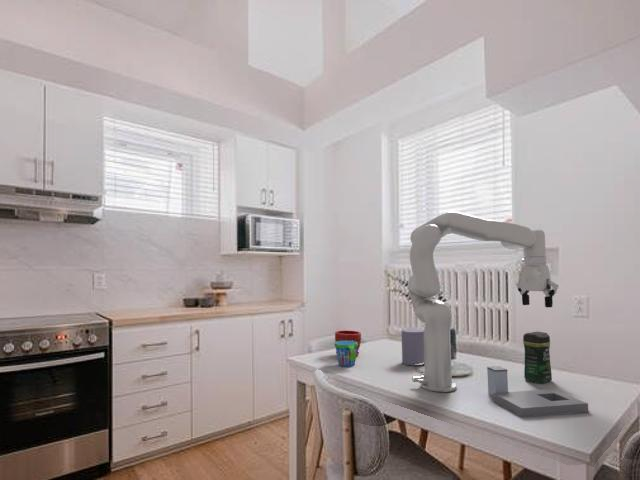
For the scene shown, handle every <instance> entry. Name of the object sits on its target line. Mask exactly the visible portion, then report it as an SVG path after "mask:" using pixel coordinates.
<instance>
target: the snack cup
mask: <svg viewBox="0 0 640 480" xmlns="http://www.w3.org/2000/svg"><path fill="white" fill-rule="evenodd" d="M357 346H358V343H357V342H355V341H353V340H352V341H347V340H346V341H338V342H334V347H335V353H336V352H337V354H336V358H337V364H338V366H340V367H346V368H347V367H354V366H355V365H356V360H357V356H356V351H357Z"/></svg>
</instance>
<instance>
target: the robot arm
mask: <svg viewBox="0 0 640 480" xmlns="http://www.w3.org/2000/svg"><path fill="white" fill-rule="evenodd" d="M452 234H453V235H457V236H460V237H461V236H462V237H464V238H468V239H473V240H475V241H480V242H482V241H483V242H500V244H501V245H502V246H503V247H504V248H506V249H508V250H517V249H518V250H519V249H523V258H522V260H521V262H522V263H523V265H521V269H520V270H521V271H520V281H518V282H516V283H515V286H516V288H517V290H518V292H519V294H520V295H521V301H522V302H521V303H522V306H529V305H530V295H529V293H530V292H543V294H544V295H545V296H544V307H545V308H553V305H554V304H553V297H555V294H556V293H557V291H558V289H559V284H557V283H555V282H554V281H551V280H552V279H551V273H550V268H549V265H547V255H546V254H547V253H546V235H545V234H546V233H545V231H544V230H542V229H531V228H530V227H527V226H523V225H520V224H517V223H516V224H515V223H512V222H508V221H500V220H493V219H486V218H483V217H478V216H474V215H471V214H468V213H463V212H460V211H456V210H455V211H454V210H451V211H448V212H445V213H441V214H440V215H438V216H436V217H435V218H432V219H431V220H429V221H427V222H425V223H423V224H422V225H419V226H418V227H416V228H414V229H413V231H412V232H411V233H410V236H409V238H410V243H411V247H410V250H409V262H410V263H409V264H410V267H411V270H412V271H411V272H412V274H411V276H410V277H409V278H408V281H407V290H408V295H409V297H410V301H411V304H412V305H411V306H412V307H413V312H414V314H415V317H416V318H417V319H418V320H419V321H421V322H422V323H425V324H424V329H423V330H424V372H422V373H421V375H420V376H416V375H415V376H412V377H411V381H412V382H413V383H418V384H420V387H422V389H425V390H427V391H430V392H431V391H432V392H439V393H449V392H454V391H456V390H457V387H458V386H457V384H456V383H455V382H453V378H452V377H453V376H452V373H453V371H452V351H451V350H452V349H451V327H452V322H453V321H452V320H453V318H452V317H453V316H452V310H451V308H450V306H448V305H447V304H446V303H445V302H444V301H442V300H439V299H436V298H435V297H436V296H438V295H439V294H440V292H441V286H442V285H441V282H440V278H439V276H438V275H439V274H438V272H437V269H436V266H435V261H434V251H435V249H436V247H437V246H438V245H439V243H440V242H441V240H442V238H444V237H445V236H447V235H452Z"/></svg>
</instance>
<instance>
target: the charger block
mask: <svg viewBox="0 0 640 480" xmlns="http://www.w3.org/2000/svg"><path fill="white" fill-rule="evenodd" d="M486 371H487V372H486V373H487V389H488V391H487V392H488V394H489V395H490V396H492V397H493V393H501V392H509V385H508V383H509V381H508V369H507V368H505V367H502V366H500V365H494V366H486Z"/></svg>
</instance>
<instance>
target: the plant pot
mask: <svg viewBox="0 0 640 480" xmlns="http://www.w3.org/2000/svg"><path fill="white" fill-rule="evenodd" d="M334 341H335V342H338V341H355V342H357V343H358V346H357V351H356V357H358V356H359V355H360V352H359V349H360V347H361V341H362V333H361V332H360V331H356V330H337V331H334ZM335 342H334V343H335ZM335 354H336V355H337V352H336V351H335Z"/></svg>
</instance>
